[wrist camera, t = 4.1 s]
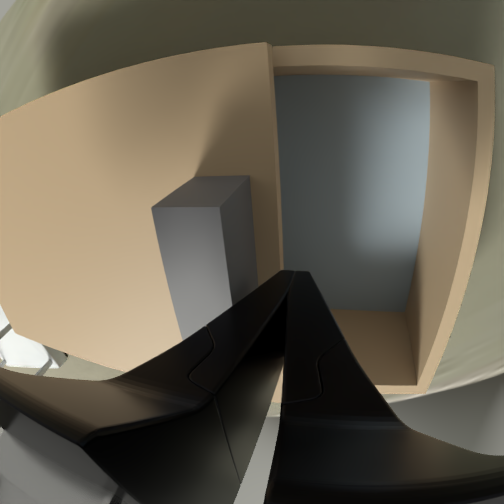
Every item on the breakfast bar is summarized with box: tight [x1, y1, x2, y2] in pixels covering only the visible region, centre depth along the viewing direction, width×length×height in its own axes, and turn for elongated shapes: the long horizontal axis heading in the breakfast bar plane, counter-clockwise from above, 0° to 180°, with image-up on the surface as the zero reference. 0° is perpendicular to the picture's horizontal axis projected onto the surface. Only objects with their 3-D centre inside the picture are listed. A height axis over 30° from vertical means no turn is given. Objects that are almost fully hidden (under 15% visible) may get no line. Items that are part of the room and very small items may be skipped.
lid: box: [0, 42, 284, 403], centre depth 11 cm, size 18×13×3 cm
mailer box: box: [271, 45, 495, 394], centre depth 14 cm, size 18×13×6 cm
